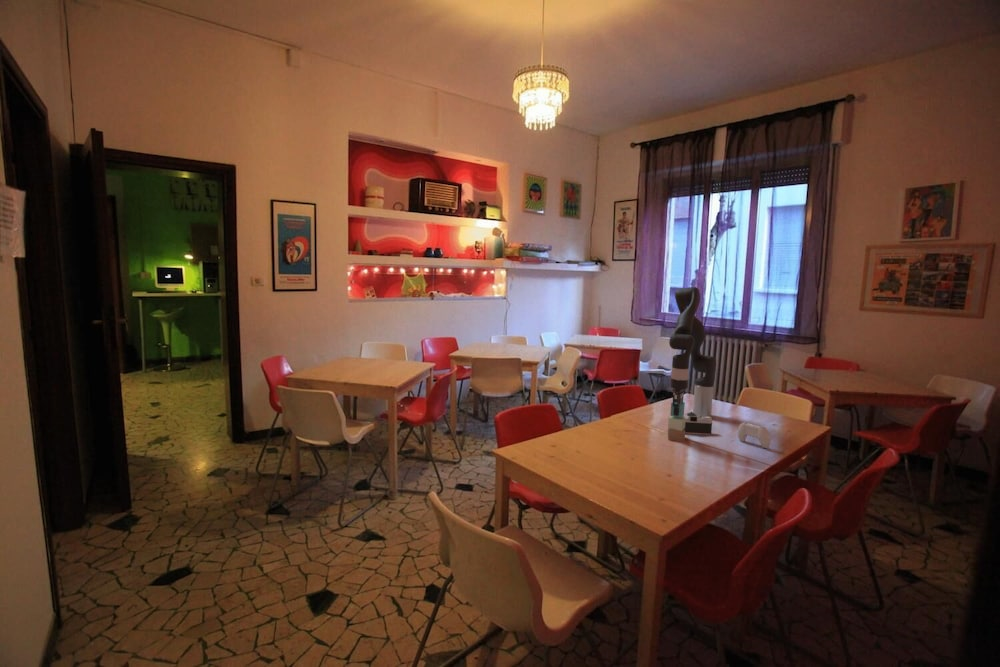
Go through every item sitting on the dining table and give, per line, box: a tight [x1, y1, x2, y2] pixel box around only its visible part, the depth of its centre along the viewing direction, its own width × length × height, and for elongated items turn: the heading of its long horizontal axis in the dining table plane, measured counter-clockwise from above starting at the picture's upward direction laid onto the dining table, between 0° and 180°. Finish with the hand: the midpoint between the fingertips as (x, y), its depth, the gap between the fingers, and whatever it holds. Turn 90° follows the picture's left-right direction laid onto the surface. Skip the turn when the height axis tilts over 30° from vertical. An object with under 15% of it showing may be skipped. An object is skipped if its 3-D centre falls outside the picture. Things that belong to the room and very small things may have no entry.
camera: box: [683, 411, 713, 435], centre depth 229 cm, size 16×9×10 cm, turn 83°
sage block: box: [667, 416, 686, 431], centre depth 218 cm, size 6×6×5 cm
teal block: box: [669, 401, 686, 417], centre depth 217 cm, size 5×5×6 cm
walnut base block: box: [667, 427, 686, 442], centre depth 218 cm, size 7×7×5 cm
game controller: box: [737, 421, 771, 450], centre depth 211 cm, size 14×4×10 cm, turn 31°
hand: (677, 413), depth 217 cm, fingers closed on teal block, 5 cm apart
